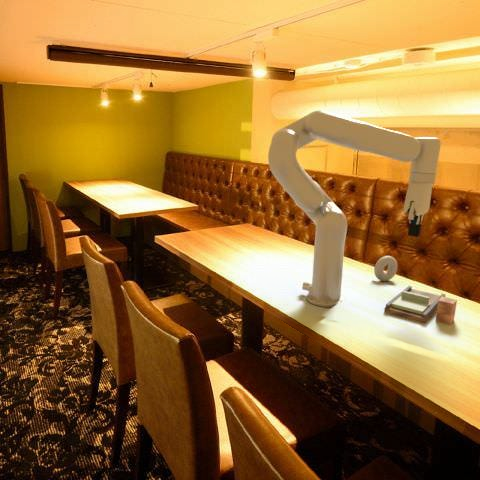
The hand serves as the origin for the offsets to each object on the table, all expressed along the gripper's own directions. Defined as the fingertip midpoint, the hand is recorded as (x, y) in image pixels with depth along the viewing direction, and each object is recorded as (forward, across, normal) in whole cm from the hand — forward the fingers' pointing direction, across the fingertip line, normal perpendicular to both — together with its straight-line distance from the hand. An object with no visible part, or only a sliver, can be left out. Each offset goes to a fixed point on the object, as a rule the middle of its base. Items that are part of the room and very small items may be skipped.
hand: (413, 235), depth 140 cm
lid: (+20, +9, +5) cm, 23 cm away
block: (+23, +8, +16) cm, 29 cm away
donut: (+23, -16, -14) cm, 31 cm away
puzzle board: (+23, +4, +5) cm, 24 cm away
